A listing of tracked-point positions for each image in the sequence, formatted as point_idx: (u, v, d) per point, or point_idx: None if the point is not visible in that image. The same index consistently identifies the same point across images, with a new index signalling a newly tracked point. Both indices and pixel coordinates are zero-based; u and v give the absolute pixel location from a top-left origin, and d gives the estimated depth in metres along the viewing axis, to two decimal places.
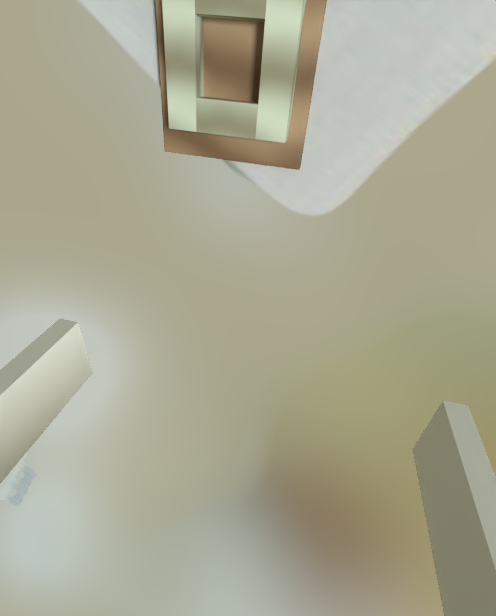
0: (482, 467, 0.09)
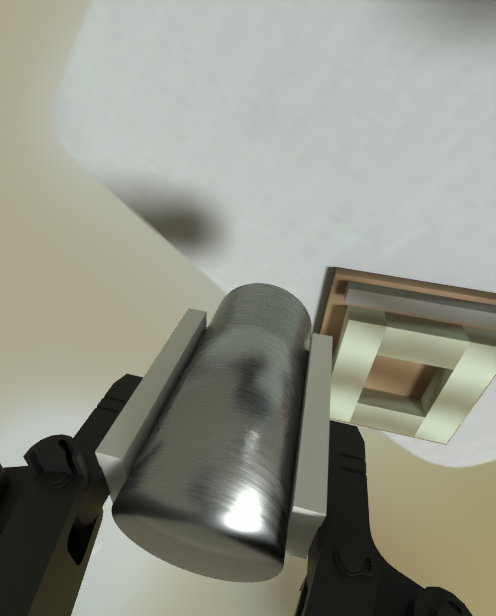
0: (323, 374, 0.11)
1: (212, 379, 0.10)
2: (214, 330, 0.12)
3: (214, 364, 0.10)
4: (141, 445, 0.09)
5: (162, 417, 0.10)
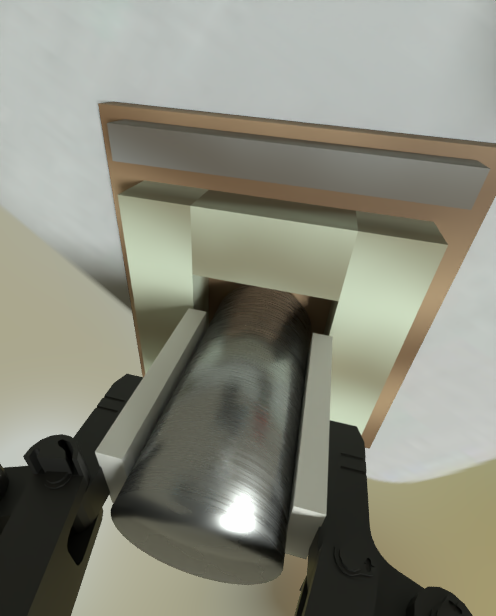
0: (323, 375, 0.11)
1: (212, 381, 0.10)
2: (214, 331, 0.12)
3: (213, 366, 0.10)
4: (141, 445, 0.09)
5: (161, 419, 0.10)
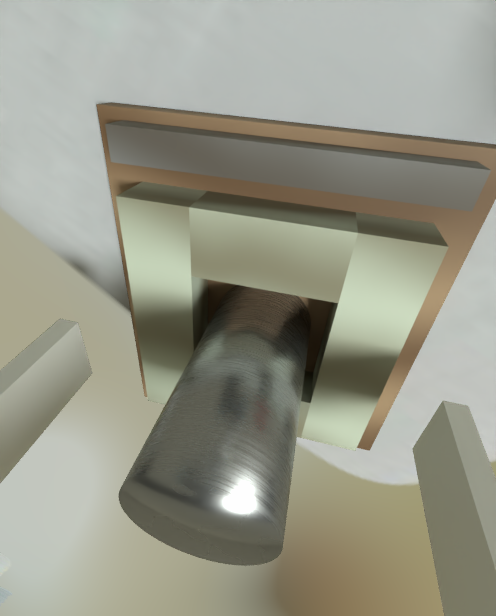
0: (482, 467, 0.09)
1: (214, 372, 0.10)
2: (216, 325, 0.13)
3: (216, 357, 0.11)
4: None
5: (166, 408, 0.10)
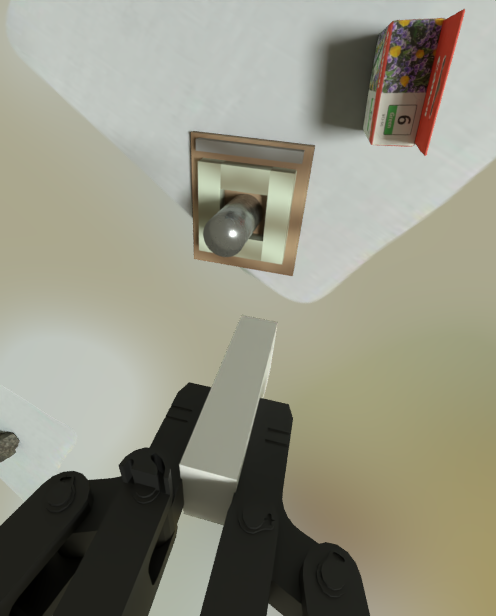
0: (261, 356, 0.12)
1: (225, 207, 0.36)
2: None
3: (226, 206, 0.37)
4: None
5: None
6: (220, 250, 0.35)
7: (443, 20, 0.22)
